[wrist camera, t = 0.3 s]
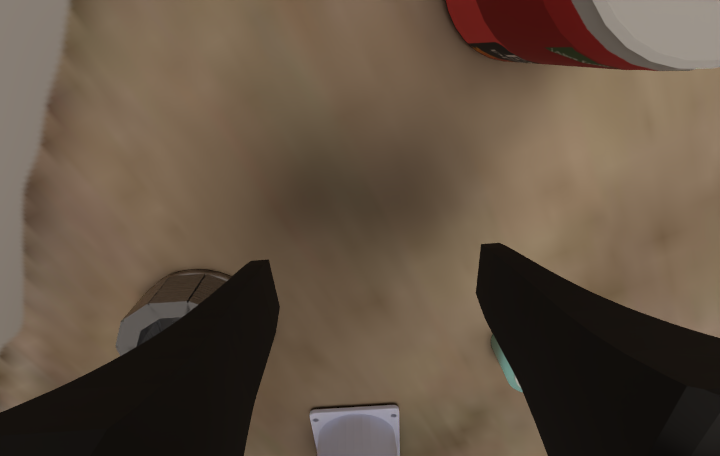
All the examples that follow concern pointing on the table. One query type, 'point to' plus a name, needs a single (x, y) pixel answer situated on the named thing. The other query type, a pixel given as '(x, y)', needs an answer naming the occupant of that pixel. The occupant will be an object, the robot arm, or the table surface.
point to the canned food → (594, 32)
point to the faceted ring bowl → (166, 305)
